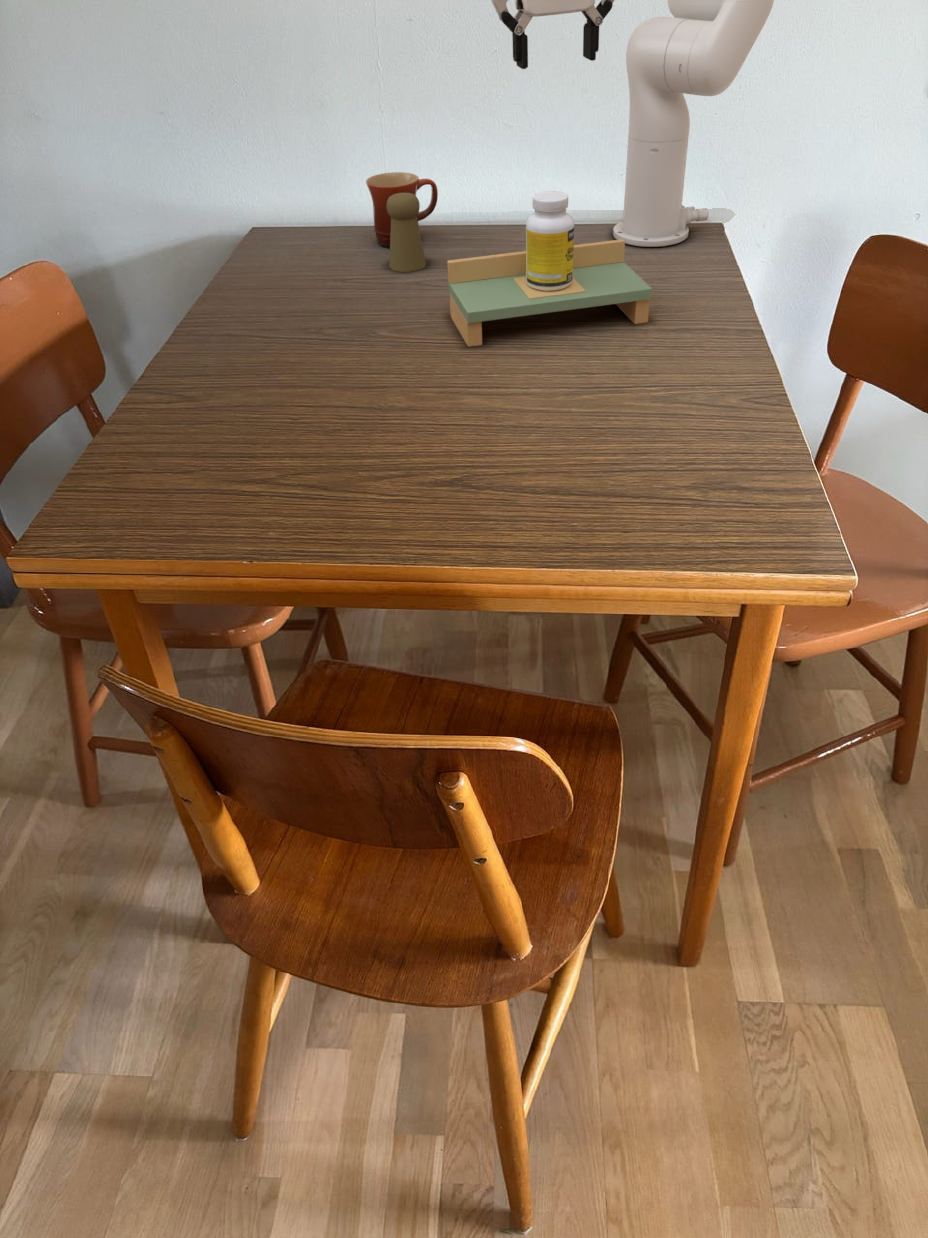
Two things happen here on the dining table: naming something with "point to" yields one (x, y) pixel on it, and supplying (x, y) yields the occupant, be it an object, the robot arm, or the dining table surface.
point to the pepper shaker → (405, 233)
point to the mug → (386, 187)
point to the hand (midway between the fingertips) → (555, 62)
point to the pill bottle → (549, 242)
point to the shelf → (504, 291)
